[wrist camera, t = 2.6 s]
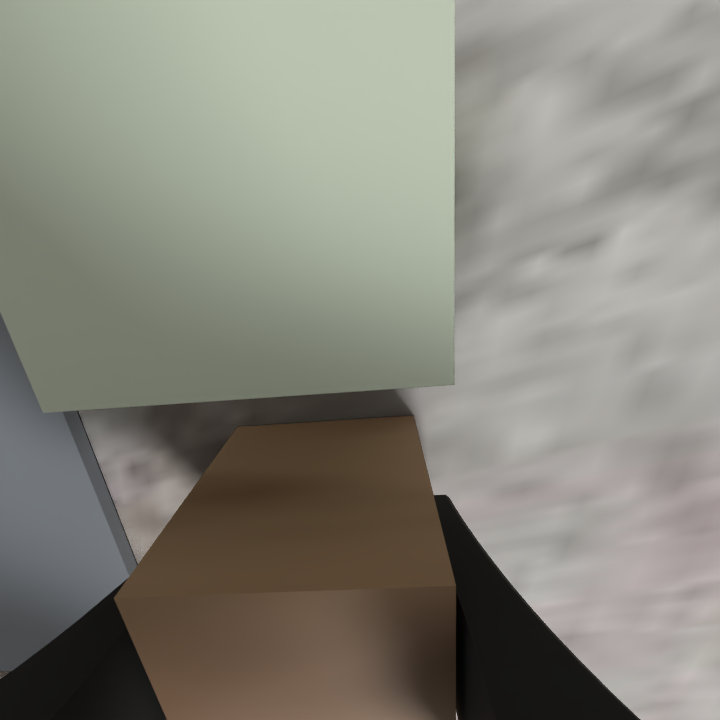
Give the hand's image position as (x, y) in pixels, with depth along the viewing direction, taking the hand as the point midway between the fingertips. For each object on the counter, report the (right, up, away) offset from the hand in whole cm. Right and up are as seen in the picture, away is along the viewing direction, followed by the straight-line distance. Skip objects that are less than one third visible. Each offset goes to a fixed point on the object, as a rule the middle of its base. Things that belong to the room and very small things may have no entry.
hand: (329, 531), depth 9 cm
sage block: (-1, +8, -1) cm, 8 cm away
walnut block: (0, 0, +1) cm, 1 cm away
